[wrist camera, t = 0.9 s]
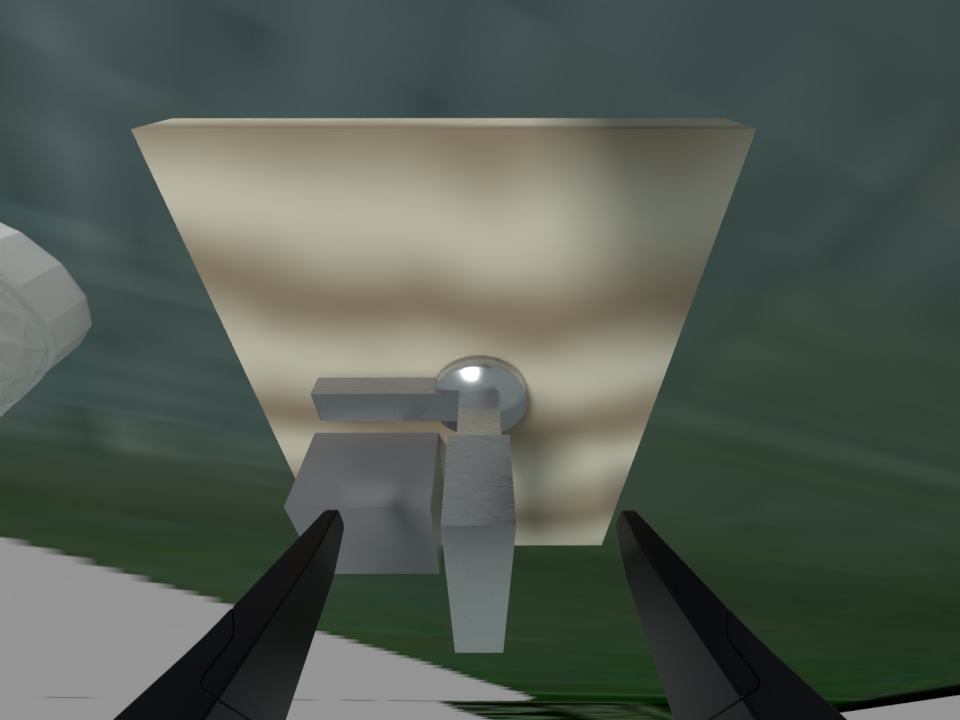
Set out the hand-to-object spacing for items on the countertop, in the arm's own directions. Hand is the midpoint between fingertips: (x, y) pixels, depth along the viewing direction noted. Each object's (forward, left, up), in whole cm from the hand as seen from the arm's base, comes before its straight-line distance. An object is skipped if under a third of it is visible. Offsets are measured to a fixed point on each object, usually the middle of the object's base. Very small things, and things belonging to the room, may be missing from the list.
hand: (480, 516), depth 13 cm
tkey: (0, -2, -6) cm, 6 cm away
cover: (+6, -5, -6) cm, 10 cm away
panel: (+2, -1, -8) cm, 9 cm away
